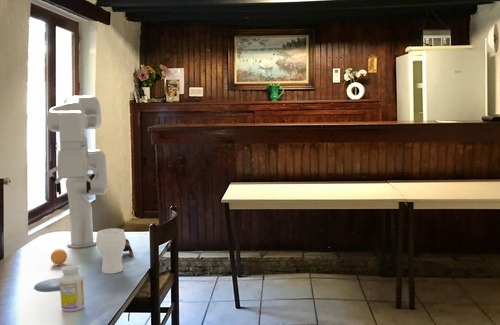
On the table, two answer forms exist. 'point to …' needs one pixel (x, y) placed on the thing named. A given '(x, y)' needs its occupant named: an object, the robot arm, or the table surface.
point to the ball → (58, 256)
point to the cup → (111, 249)
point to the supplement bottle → (71, 289)
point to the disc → (48, 285)
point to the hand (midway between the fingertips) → (73, 193)
